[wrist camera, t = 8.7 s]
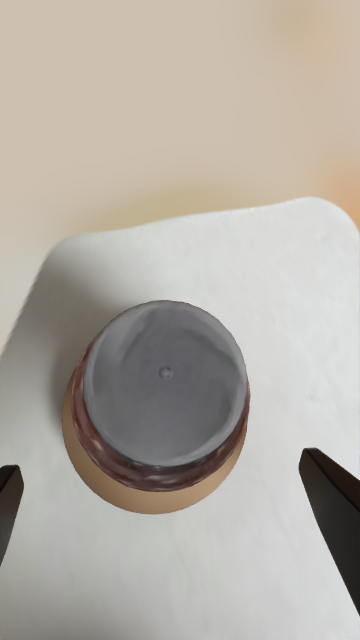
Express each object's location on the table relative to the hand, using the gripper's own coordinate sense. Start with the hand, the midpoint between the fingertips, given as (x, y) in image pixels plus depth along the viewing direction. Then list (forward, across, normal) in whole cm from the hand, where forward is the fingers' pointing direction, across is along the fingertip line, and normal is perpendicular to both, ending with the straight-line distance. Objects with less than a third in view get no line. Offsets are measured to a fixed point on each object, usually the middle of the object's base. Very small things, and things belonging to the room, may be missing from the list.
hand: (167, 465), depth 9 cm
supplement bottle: (+7, 0, +4) cm, 8 cm away
